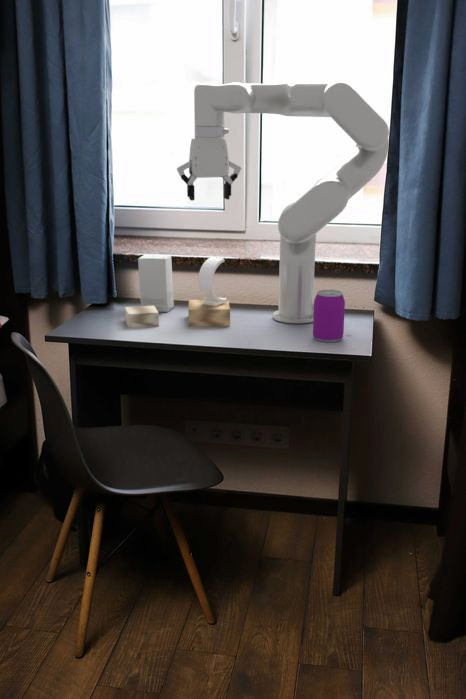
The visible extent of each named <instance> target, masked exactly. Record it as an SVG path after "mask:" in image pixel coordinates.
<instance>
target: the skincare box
mask: <svg viewBox="0 0 466 699" xmlns="http://www.w3.org/2000/svg"><path fill="white" fill-rule="evenodd" d="M137 262H138V263H137V264H138V281H139V297H140V298H139V299H140V306H155V308H156V309H157V311H158V313H160V312H161V313H168V312H169V311H170V310H172V309H173V308H174V307H175V306H174V305H175V303H174V284H173V281H174V280H173V265H172V264H173V263H172V254H151V253H145V254H143V255H142V256H140V257H139V258H137Z"/></svg>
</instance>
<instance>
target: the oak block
mask: <svg viewBox="0 0 466 699" xmlns="http://www.w3.org/2000/svg"><path fill="white" fill-rule="evenodd" d="M204 300H205V299H189V300H188V327H230V326H231V306H230V301H229V299H227V302H225V303H223V304H220V305H217V306H210V305H205V304H203V302H202V301H204Z"/></svg>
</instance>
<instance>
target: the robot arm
mask: <svg viewBox="0 0 466 699" xmlns="http://www.w3.org/2000/svg"><path fill="white" fill-rule="evenodd" d="M193 91H194V92H193V94H194V98H193V99H194V102H193V103H194V108H193V109H194V138H191V140H190V146H189V157H188V158H189V159H188V161H187V162H185V163H183V164H182V165H180V166H178V167H177V168H176V171H177V173H178V175H179V176H180V179H181V180H182V181H183V182H184V183H185V184H186V185H187V186H186V189H187V190H186V192H187V197H188V199H189V201H195V185H194V182H195V181H196V180H197V178H199V179H201V178H204V179H206V178H207V179H208V178H212V179H213V178H222V180H224V181H225V182H224V183H223V198H224V199H226V200H230V197H231V196H232V184H233V183H234V182H235V181H236V180H237V179H238V177H239V176H238V175H239V174H240V172H241V170H242V167H241V166H239V165H238V164H235V163H234V162H232V161H231V160H230V158H229V152H228V150H229V149H228V145H227V144H228V143H227V139H226V138H225V135H228V134H230V132H229V131H230V130H229V128H225V126H224V113H231V114H236V115H237V114H238V115H239V114H267V115H268V114H271V115H274V114H275V115H281V116H285V117H301V118H302V117H312V118H313V117H315V118H317V117H318V118H332V120H333V121H334V123H336V124H337V125H338V126H339V127H340V129H341V130H343V131H344V132H345V133H346V134H347V136H349V137H350V139H351V140H352V141H353V142H354V143H355V147H354V149H353V151H351V153H350V154H349V155H348V156H347V157H346V158H345V159H343V160H342V161H341V162H340V163H339V164H338V165H337V166H336V167H334V169H332V170H331V171H330V172H329V173H327V174H326V175H325V176H323V177H321V178H320V179H319V180H318V181H316V182H315V184H314V186H312V187H311V188H310V189H309V190H308V191H306V192H305V193H304V194H303V195H302V196H301V197H300V198H299V199H298V200H296V201H295V202H292V203H290V204H288V205H287V206H286V207H285V208H284V209H283V210H282V212H281V214H280V216H279V217H278V222H277V227H278V233H279V235H280V238H279V264H278V265H279V266H278V267H279V269H278V270H279V272H278V273H279V274H278V276H279V278H278V310H275V311H274V312H272V318H273V320H275V321H278V322H280V323H285V324H310V323H313V315H314V291H315V290H314V289H315V286H314V285H315V264H316V243H317V242H316V240H317V233H319V232H320V231H321V230H322V229H323V228H324V227H326V226H328V224H329V223H331V222H332V221H333V220H334V219H335V218H337V217H338V216H339V215H340V214H341V213H342V212H343V211H344V210H345V208H346V207H347V205H348V203H349V200H350V199H351V198H352V197H354V195H356V194H357V193H358V192H359V191H361V190H362V189H363V188H364V187H365V186H366V185H367V184H368V183H369V182H370V181H372V180H373V178H374V177H375V176H376V175H377V174H379V172H380V171H381V169H382V167H383V165H384V164H385V162H386V159H387V156H388V152H389V146H390V145H389V135H390V130H389V126H388V124H387V122H386V121H385V119H384V118H382V117H381V116H380V114H378V113H377V112H376V110H374V109H373V107H372V106H371V105H370V104H368V102H366V101H365V99H364V98H363V97H362V96H361V95H360V94H359V93H358V92H357V91H356V90H355V88H354V87H353V86H352V85H350V83H349V82H348V83H347V82H344V81H335V82H334V81H333V82H332V81H286V82H283V83H282V82H281V83H266V84H265V83H243V82H231V83H224V84H219V83H198V84H197V85H195V87H194V90H193ZM230 168H231V169H233V172H232V173H231V175H230V176H229V173H230ZM187 169H188V173H189V176H187V175H186V173H185V170H187Z"/></svg>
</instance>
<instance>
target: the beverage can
mask: <svg viewBox="0 0 466 699" xmlns="http://www.w3.org/2000/svg"><path fill="white" fill-rule="evenodd" d="M313 301H314V315H313V322H312V324H313V325H312V336H313V337H314V339H315V340H316V341H318V342H321V343H337V342H339V341H341V340H342V339H343V338H344V333H345V332H344V330H345V329H344V327H345V312H346V311H345V307H346V301H345V298H344V294H343V292H342V291H340V290H336V289H319V290H318V291H317V292H316V295H315V298H314V299H313Z"/></svg>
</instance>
